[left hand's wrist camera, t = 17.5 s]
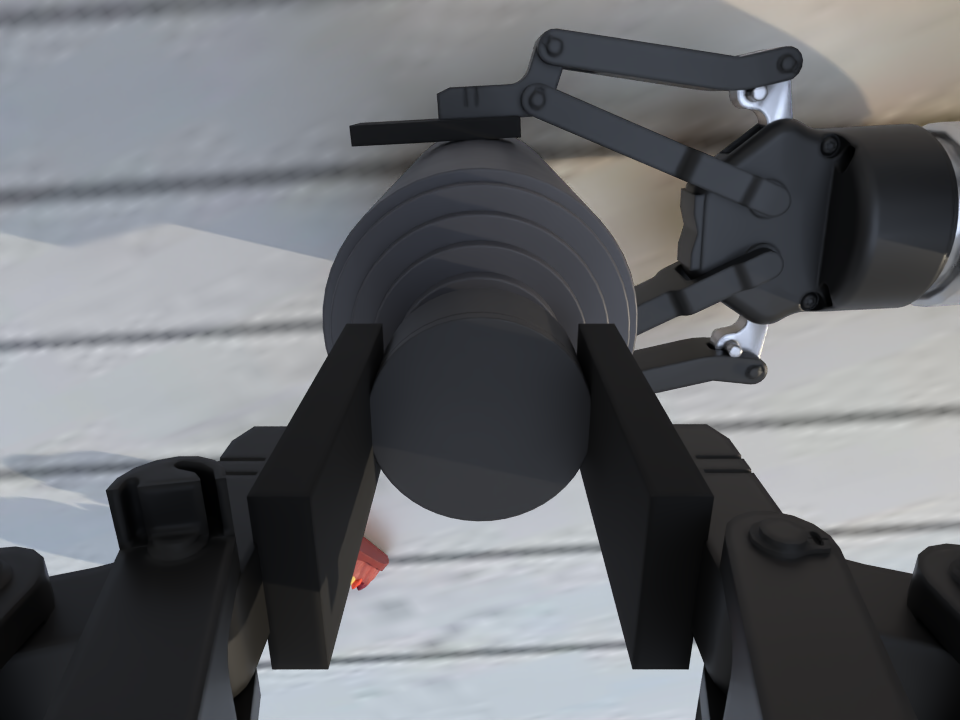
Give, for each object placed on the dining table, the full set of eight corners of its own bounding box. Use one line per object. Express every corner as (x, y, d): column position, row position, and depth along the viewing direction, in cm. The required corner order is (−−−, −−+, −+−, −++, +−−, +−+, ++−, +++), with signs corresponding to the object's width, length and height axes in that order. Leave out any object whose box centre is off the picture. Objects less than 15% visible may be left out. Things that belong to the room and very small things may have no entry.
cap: (587, 289, 14) (604, 319, 12) (572, 471, 15) (584, 524, 13) (377, 284, 14) (361, 314, 12) (383, 467, 15) (370, 520, 13)
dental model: (393, 590, 38) (301, 666, 40) (403, 545, 42) (319, 616, 44) (317, 528, 36) (226, 610, 39) (335, 487, 40) (252, 563, 43)
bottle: (412, 301, 36) (315, 599, 15) (386, 140, 33) (219, 226, 12) (566, 284, 36) (693, 563, 15) (554, 119, 33) (692, 169, 12)
